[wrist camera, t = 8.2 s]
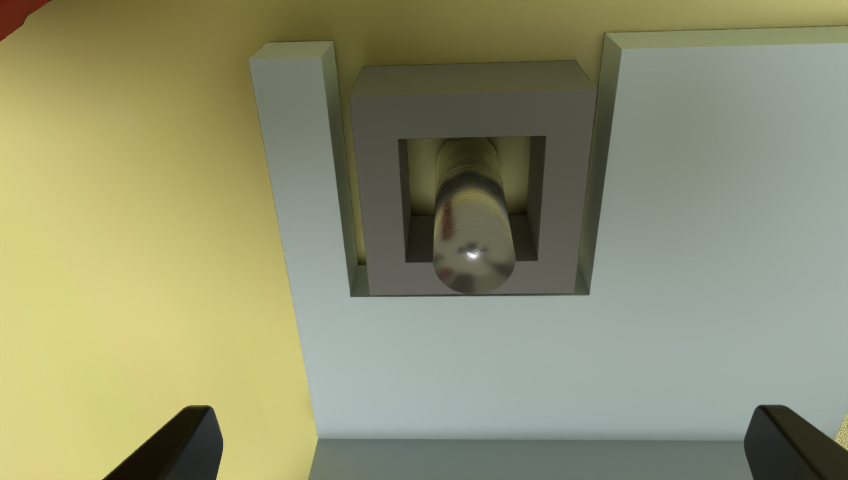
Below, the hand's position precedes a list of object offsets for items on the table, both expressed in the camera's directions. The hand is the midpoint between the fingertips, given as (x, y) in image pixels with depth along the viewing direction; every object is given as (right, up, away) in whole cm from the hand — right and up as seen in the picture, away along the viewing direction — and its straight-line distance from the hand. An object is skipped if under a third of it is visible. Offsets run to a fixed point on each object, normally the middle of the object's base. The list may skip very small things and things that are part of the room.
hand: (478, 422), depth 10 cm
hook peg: (+1, +6, +10) cm, 11 cm away
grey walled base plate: (+5, +2, +11) cm, 13 cm away
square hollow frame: (+1, +6, +10) cm, 11 cm away
